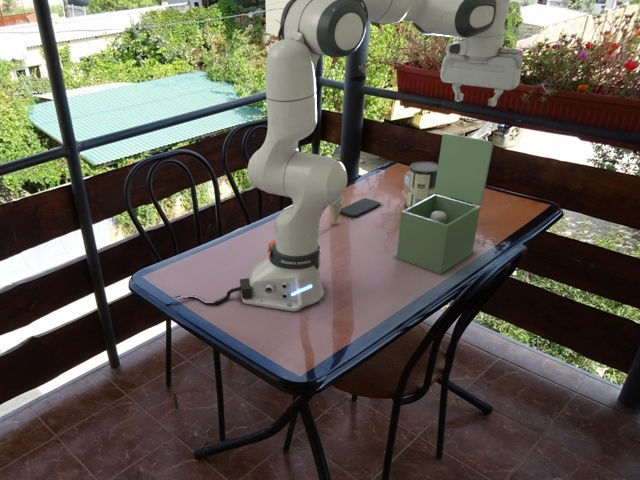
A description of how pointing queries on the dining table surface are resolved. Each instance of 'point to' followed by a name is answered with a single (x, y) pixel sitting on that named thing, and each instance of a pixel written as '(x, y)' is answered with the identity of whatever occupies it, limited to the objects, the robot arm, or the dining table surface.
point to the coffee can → (421, 182)
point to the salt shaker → (438, 216)
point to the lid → (463, 167)
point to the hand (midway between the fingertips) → (474, 103)
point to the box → (437, 233)
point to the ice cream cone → (336, 208)
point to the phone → (359, 207)
